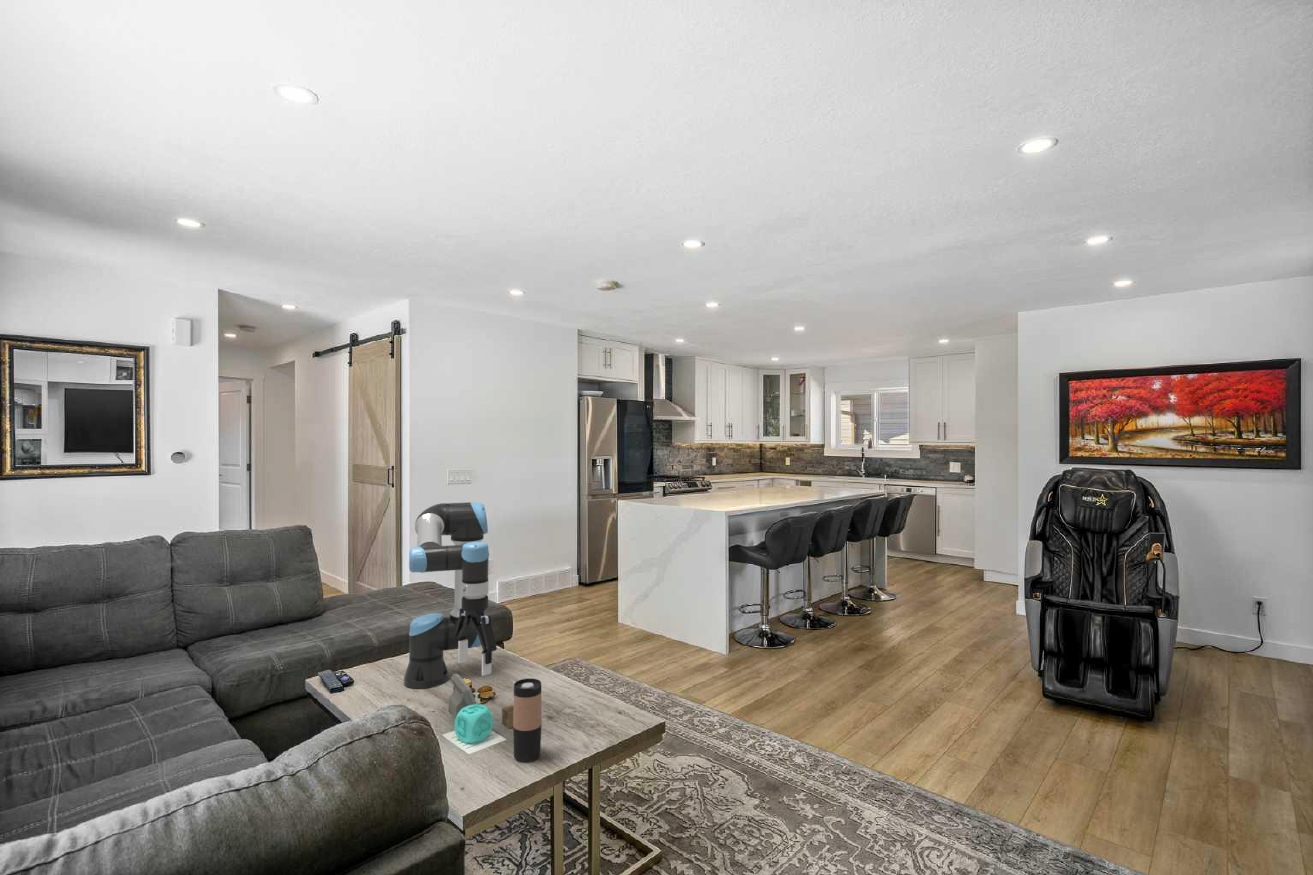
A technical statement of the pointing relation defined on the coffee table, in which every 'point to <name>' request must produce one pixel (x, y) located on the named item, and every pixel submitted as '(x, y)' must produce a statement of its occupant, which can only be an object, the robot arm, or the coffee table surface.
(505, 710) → the walnut block
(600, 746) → the coffee table surface
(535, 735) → the travel mug
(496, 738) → the letter
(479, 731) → the decorative dice
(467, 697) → the grey angular piece
